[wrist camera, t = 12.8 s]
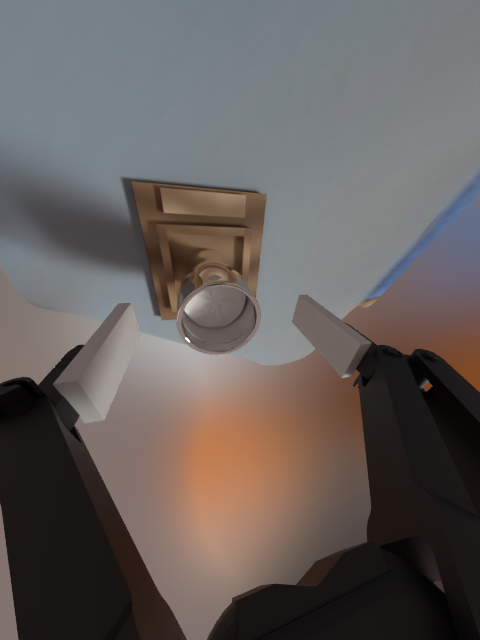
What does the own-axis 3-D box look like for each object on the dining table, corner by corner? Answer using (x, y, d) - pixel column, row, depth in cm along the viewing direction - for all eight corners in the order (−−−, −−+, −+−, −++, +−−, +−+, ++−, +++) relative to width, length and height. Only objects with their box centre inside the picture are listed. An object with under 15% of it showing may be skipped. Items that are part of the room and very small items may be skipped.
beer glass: (180, 288, 26) (169, 354, 14) (186, 240, 23) (178, 269, 10) (224, 295, 28) (249, 358, 16) (235, 253, 25) (275, 289, 13)
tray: (134, 183, 20) (127, 179, 18) (263, 195, 23) (270, 193, 21) (162, 316, 29) (160, 324, 27) (252, 310, 33) (255, 316, 31)
